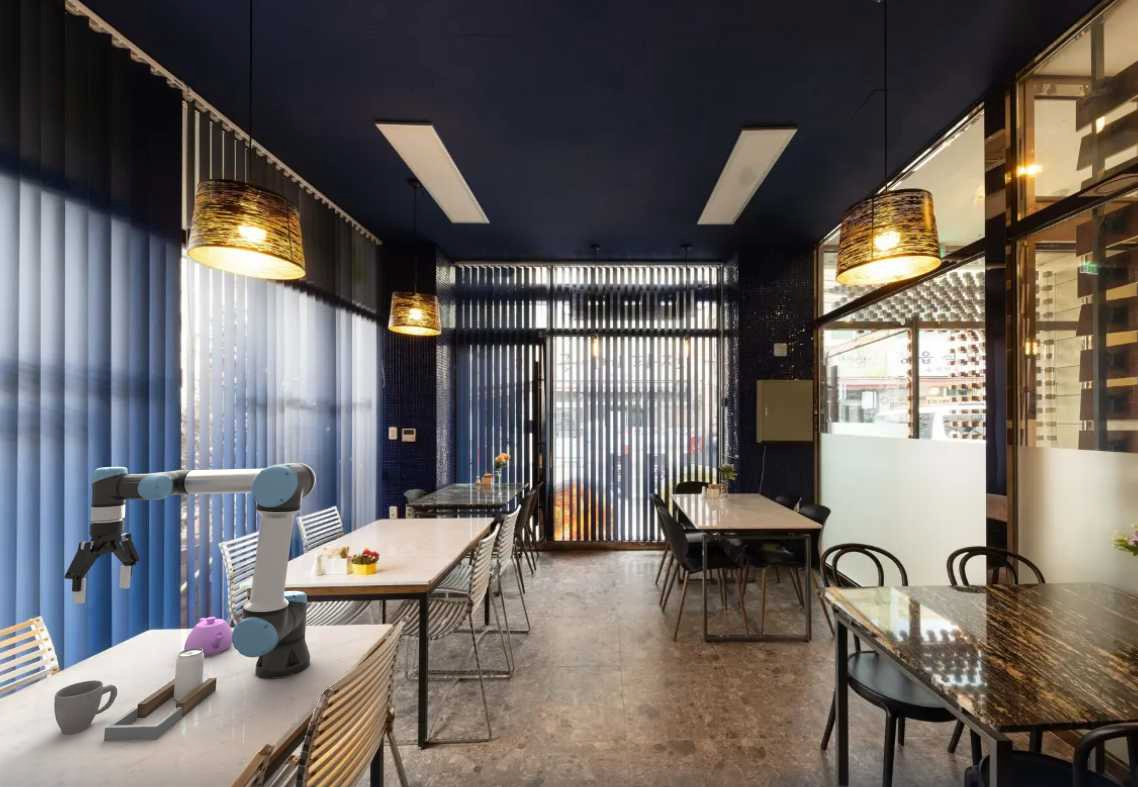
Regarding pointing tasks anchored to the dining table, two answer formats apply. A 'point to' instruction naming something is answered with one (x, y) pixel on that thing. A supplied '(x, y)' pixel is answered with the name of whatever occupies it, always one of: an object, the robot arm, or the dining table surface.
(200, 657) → the can
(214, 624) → the teapot
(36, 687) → the dining table surface
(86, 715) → the mug
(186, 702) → the chute
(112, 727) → the bay
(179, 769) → the dining table surface
